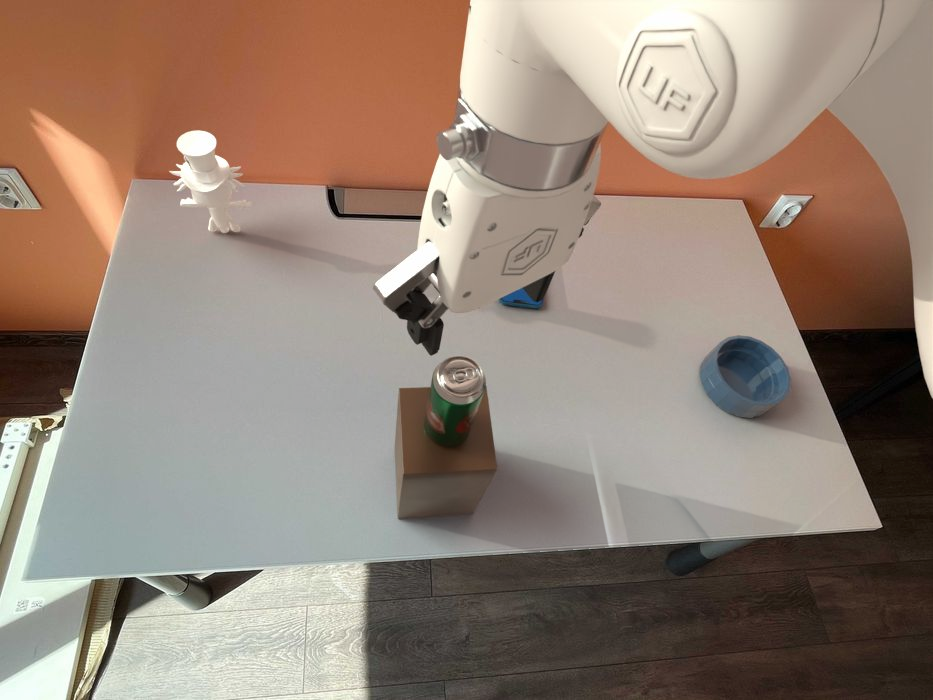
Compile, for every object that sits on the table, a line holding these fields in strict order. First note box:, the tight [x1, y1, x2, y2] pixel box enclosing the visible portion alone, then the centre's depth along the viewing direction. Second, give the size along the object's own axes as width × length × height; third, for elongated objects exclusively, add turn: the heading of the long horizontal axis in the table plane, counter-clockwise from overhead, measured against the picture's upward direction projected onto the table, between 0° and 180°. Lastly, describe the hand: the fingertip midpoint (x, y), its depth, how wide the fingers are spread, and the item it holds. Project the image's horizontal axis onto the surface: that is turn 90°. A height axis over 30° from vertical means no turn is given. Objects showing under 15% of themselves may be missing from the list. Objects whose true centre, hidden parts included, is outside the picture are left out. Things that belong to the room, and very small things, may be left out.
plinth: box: [394, 386, 498, 520], centre depth 71 cm, size 10×10×18 cm
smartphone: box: [498, 288, 544, 309], centre depth 98 cm, size 7×1×15 cm
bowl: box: [699, 335, 792, 419], centre depth 91 cm, size 12×12×5 cm
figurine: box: [168, 129, 253, 234], centre depth 87 cm, size 10×8×18 cm
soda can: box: [424, 354, 487, 447], centre depth 58 cm, size 5×5×12 cm
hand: (477, 312), depth 44 cm, fingers open, 9 cm apart
